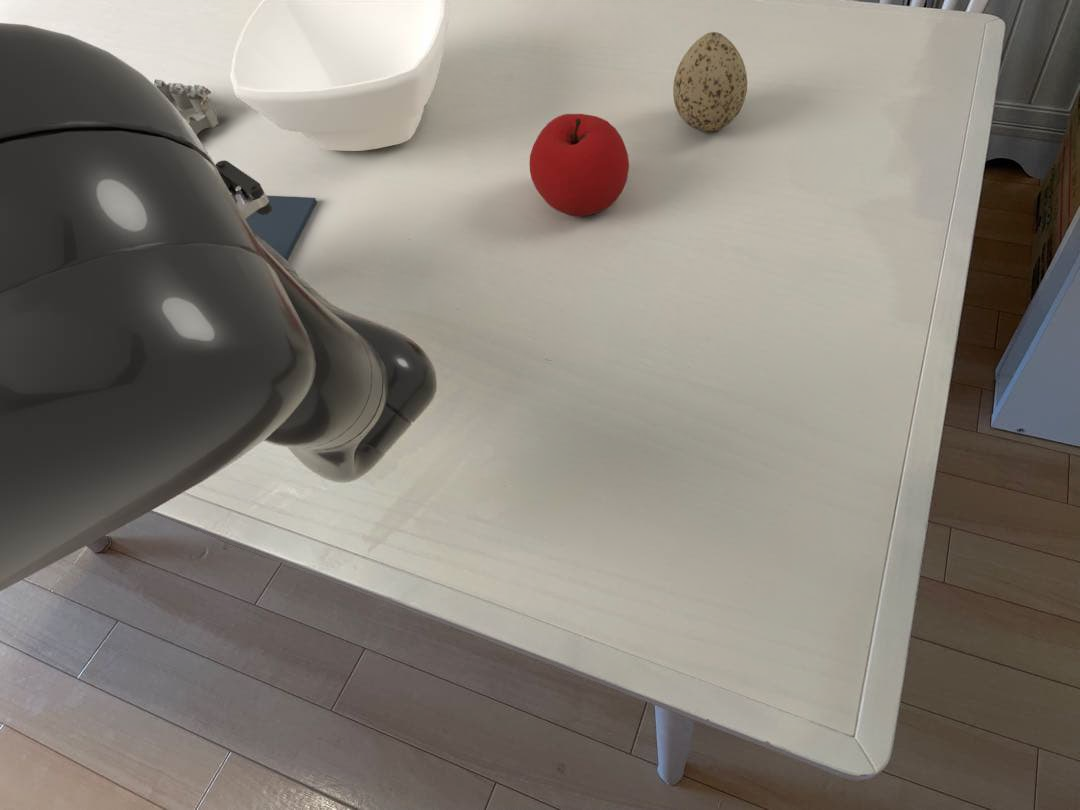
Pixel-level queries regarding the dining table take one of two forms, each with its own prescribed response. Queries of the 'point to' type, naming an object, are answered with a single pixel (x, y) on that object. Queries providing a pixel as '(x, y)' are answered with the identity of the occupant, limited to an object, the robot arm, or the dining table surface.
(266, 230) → the mat
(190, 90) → the grey jagged stone ring
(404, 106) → the bowl
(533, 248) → the dining table surface
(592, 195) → the apple
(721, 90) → the decorative egg
